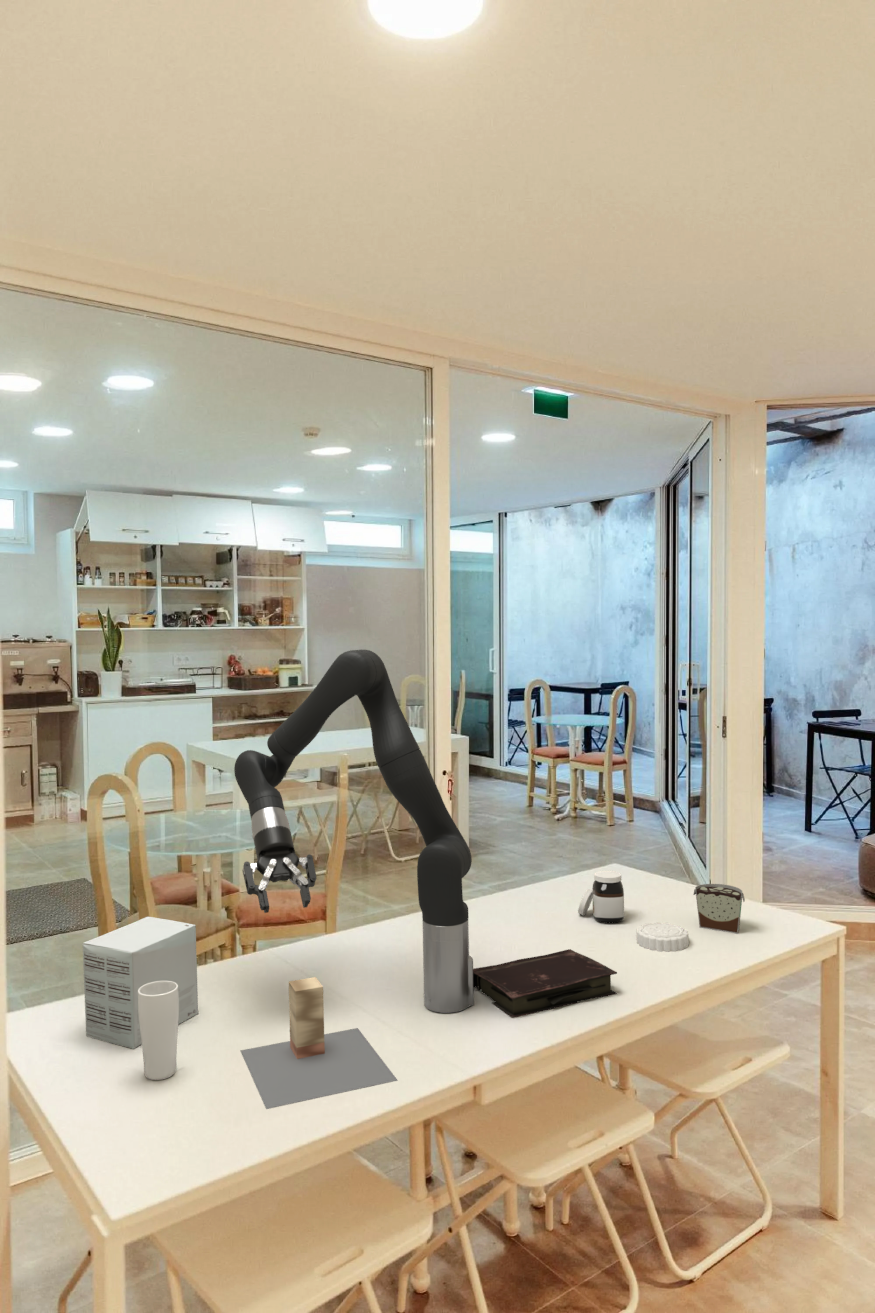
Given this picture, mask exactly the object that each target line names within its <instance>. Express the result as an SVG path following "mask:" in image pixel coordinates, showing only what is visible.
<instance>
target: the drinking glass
mask: <svg viewBox="0 0 875 1313" xmlns="http://www.w3.org/2000/svg"><path fill="white" fill-rule="evenodd" d="M138 1018H139V1027H140V1035H141V1043H142V1044H141V1049H142V1050H141V1051H142V1059H143V1074H144V1076H145V1078H146V1079H148V1080H151V1081H161V1080H165V1079H168V1078H170V1077H171V1076H173V1075H174V1074H175V1073H176V1071H177V1069H178V1068H177V1067H178V1065H177V1054H178V1036H179V1035H178V1033H179V1024H178V1021H179V992H178V985H177V984H176V983H175V982H172V981H155V982H151V983H148V984H145V985H143V986H141V987H140V988H139V989H138Z"/></svg>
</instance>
